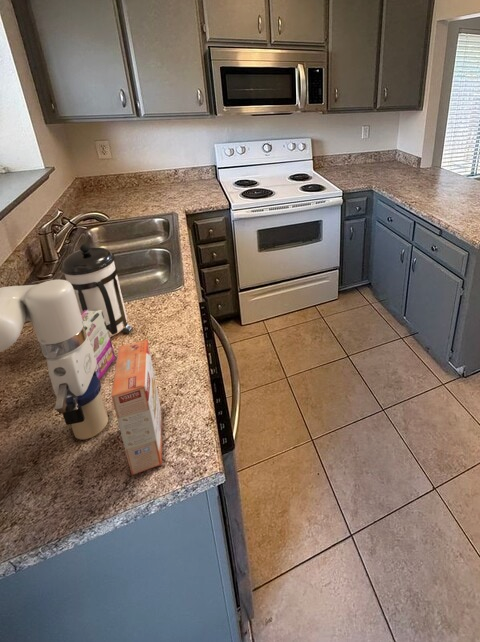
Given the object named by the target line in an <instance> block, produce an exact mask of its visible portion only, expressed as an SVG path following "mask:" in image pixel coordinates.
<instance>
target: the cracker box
mask: <svg viewBox="0 0 480 642" xmlns="http://www.w3.org/2000/svg"><path fill="white" fill-rule="evenodd" d="M114 368H115V369H114V375H113V382H112V389H111V394H110V396H111V400H112V404H113V408H114V412H115V416H116V420H117V424H118V427H119V433H120V435H121V439H122V443H123V446H124V451H125V455H126V458H127V463H128V466H129V470H130V474H131V476H134V475H137V474H140V473H143V472H146V471H148V470H151V469H153V468H156V467H159V466H161V465H162V464H163V463H162V461H163V459H162V454H163V453H162V451H163V450H162V448H163V447H162V445H163V444H162V443H163V442H162V440H163V439H162V425H163V424H162V407H161V402H160V395H159V390H158V385H157V381H156V377H155V371H154V366H153V361H152V355H151V350H150V345H149V340H148V339H144V340H139V341H136V342H131V343H128V344H124V345H119V346H118V349H117V356H116V361H115V367H114Z"/></svg>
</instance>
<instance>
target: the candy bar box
mask: <svg viewBox="0 0 480 642" xmlns="http://www.w3.org/2000/svg"><path fill="white" fill-rule="evenodd" d="M81 317H82V320H83V324H84V327H85V331H86V335H87V336H88V338H89V340H90V343H91V345H92V348H93V351H94V354H95V357H96V360H97V365H96V368H95V372H96V375H97V377H98V379H99V380H101V379H102V378H103V377H104V375H105V374H106V372H107V370H109V368H110V367H111V365H112V364H113V363H114V361H115V359H117V356H116V355H115V350H114V347H113V344H112V341H111V337H109V333H108V330H107V326H106V323H105V319H104V316H103V312H102V310H84V311H83V312H82V313H81Z"/></svg>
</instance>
